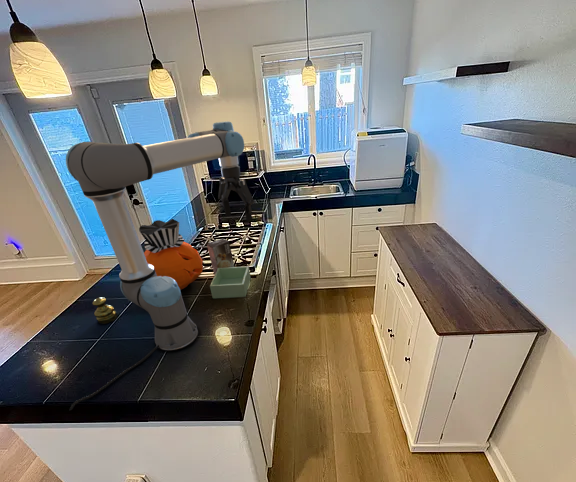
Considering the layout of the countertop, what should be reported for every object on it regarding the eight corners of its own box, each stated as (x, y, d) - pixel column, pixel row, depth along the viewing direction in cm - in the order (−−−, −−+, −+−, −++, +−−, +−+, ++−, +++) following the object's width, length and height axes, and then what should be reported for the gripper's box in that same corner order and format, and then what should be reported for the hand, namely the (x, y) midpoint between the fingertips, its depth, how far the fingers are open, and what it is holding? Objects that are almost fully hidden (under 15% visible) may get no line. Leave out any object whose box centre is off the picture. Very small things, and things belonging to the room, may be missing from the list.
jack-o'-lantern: (211, 290, 143) (195, 226, 126) (151, 305, 136) (125, 240, 119) (202, 266, 164) (187, 209, 148) (149, 278, 157) (127, 220, 141)
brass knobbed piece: (121, 314, 132) (112, 294, 127) (108, 325, 126) (98, 304, 121) (107, 313, 134) (97, 293, 129) (94, 323, 128) (83, 303, 123)
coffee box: (229, 267, 161) (223, 237, 152) (235, 271, 157) (229, 241, 148) (213, 273, 157) (206, 243, 148) (219, 277, 152) (212, 247, 143)
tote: (245, 296, 136) (243, 284, 133) (212, 298, 137) (209, 286, 134) (250, 278, 150) (248, 266, 146) (220, 279, 151) (218, 268, 147)
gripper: (258, 165, 121) (265, 219, 133) (217, 162, 135) (226, 211, 147) (244, 170, 117) (252, 225, 128) (203, 166, 131) (214, 216, 143)
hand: (238, 218), depth 138 cm, fingers open, 13 cm apart
